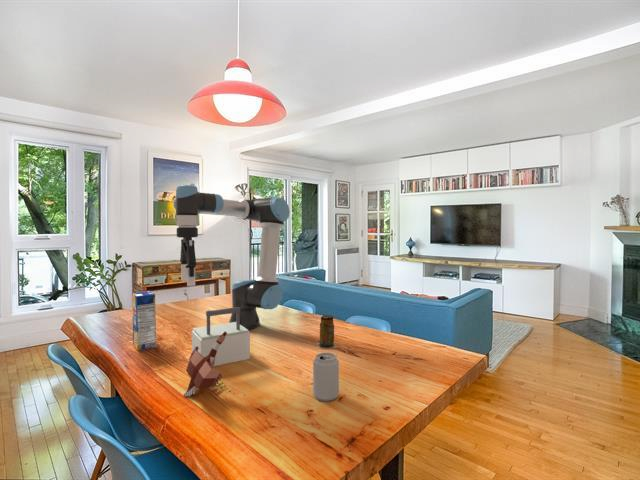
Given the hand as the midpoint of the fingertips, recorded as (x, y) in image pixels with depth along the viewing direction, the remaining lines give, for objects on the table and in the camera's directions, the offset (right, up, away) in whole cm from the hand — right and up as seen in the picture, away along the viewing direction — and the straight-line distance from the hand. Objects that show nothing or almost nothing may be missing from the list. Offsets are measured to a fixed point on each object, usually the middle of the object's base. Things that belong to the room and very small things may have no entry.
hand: (188, 283), depth 132 cm
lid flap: (+12, -18, 0) cm, 22 cm away
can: (+52, -30, -30) cm, 67 cm away
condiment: (+53, -28, +15) cm, 62 cm away
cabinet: (+12, -28, +1) cm, 31 cm away
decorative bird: (+16, -30, -27) cm, 43 cm away
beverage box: (-24, -28, +15) cm, 40 cm away
